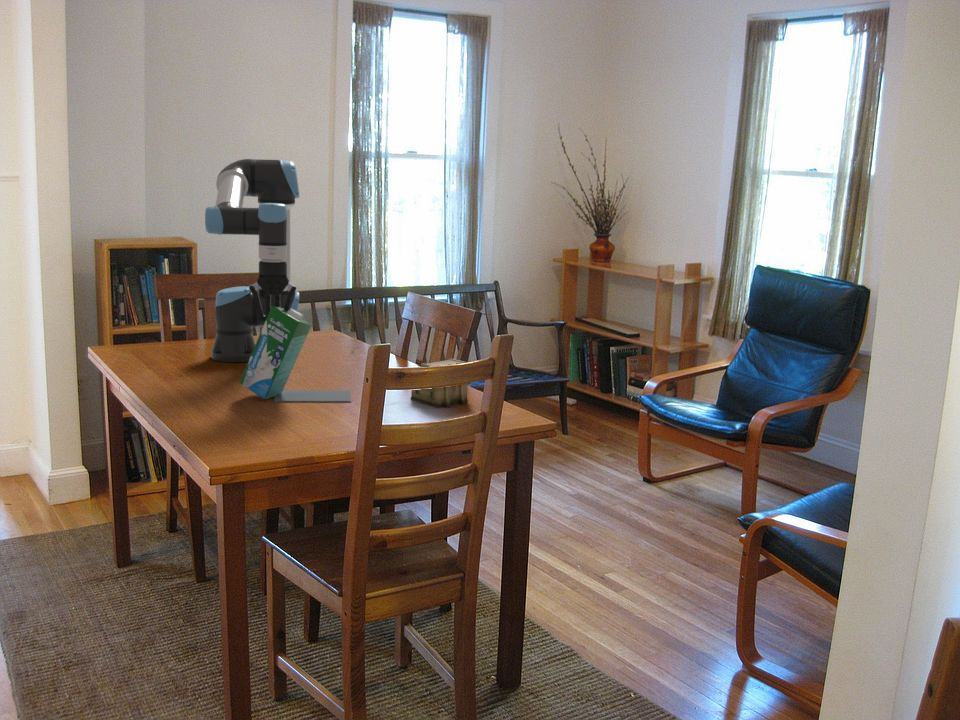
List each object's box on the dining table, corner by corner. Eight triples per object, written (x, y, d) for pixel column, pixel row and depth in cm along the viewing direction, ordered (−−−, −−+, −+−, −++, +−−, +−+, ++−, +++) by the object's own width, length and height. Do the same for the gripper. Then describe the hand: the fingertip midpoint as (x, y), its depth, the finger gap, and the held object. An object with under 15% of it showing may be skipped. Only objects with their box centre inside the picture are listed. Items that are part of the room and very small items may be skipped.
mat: (276, 391, 274) (276, 389, 274) (350, 391, 277) (350, 390, 277) (274, 402, 262) (274, 400, 262) (350, 402, 265) (350, 400, 265)
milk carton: (281, 393, 270) (315, 317, 262) (264, 399, 261) (298, 321, 254) (256, 377, 272) (289, 301, 264) (238, 383, 263) (272, 305, 256)
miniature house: (477, 401, 272) (478, 362, 269) (441, 410, 262) (442, 369, 259) (441, 391, 282) (442, 353, 279) (405, 398, 272) (406, 359, 269)
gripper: (247, 261, 255) (248, 347, 260) (296, 262, 257) (296, 347, 262) (249, 258, 262) (250, 341, 267) (297, 259, 264) (297, 342, 269)
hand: (273, 344), depth 265 cm, fingers closed
